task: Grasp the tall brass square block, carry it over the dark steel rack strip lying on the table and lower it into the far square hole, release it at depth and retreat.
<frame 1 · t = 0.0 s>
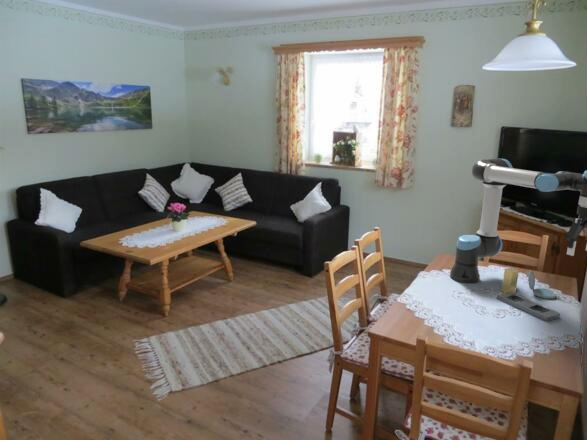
hand: (579, 253, 190), 28 cm above the table, fingers open, 13 cm apart
rack strip: (526, 307, 199), on the table
brass block: (508, 291, 217), on the table
pocket watch: (543, 295, 214), on the table
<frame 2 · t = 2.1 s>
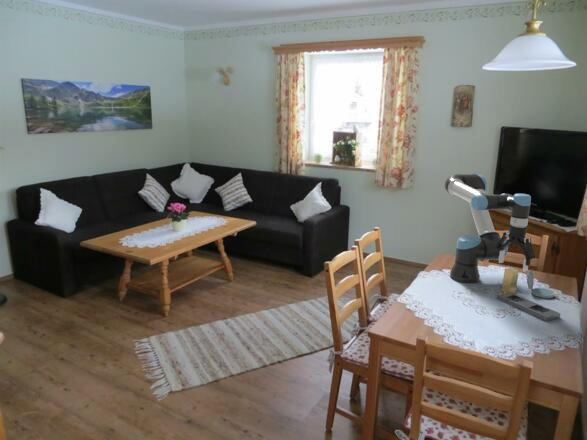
hand: (512, 266, 213), 14 cm above the table, fingers open, 13 cm apart
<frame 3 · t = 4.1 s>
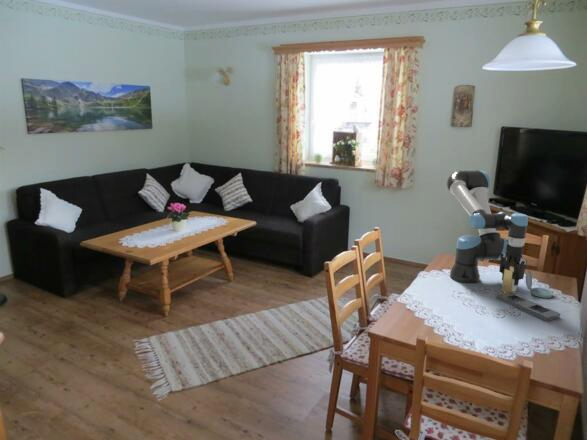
hand: (508, 288, 216), 2 cm above the table, fingers closed on brass block, 4 cm apart
brass block: (508, 291, 217), on the table, touching gripper
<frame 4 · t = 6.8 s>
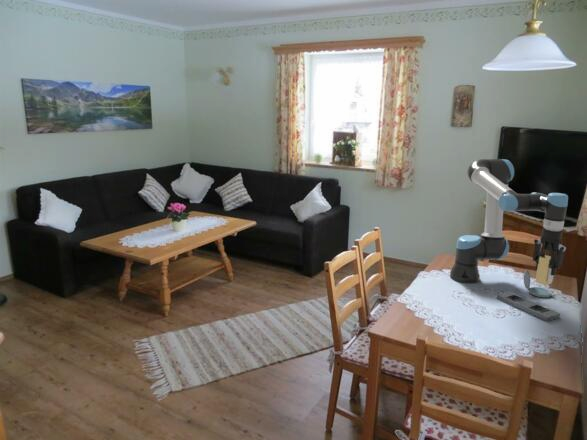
hand: (544, 279, 190), 16 cm above the table, fingers closed on brass block, 4 cm apart
brass block: (543, 282, 190), point 15 cm above the table, touching gripper
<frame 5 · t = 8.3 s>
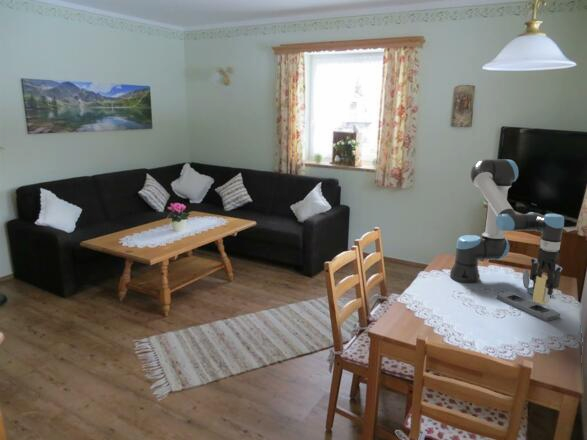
hand: (541, 298, 192), 7 cm above the table, fingers closed on brass block, 4 cm apart
brass block: (540, 301, 193), point 6 cm above the table, touching gripper
when the fingers open (5 cm above the table, at t = 9.5 s): brass block drops 3 cm, resting in rack strip.
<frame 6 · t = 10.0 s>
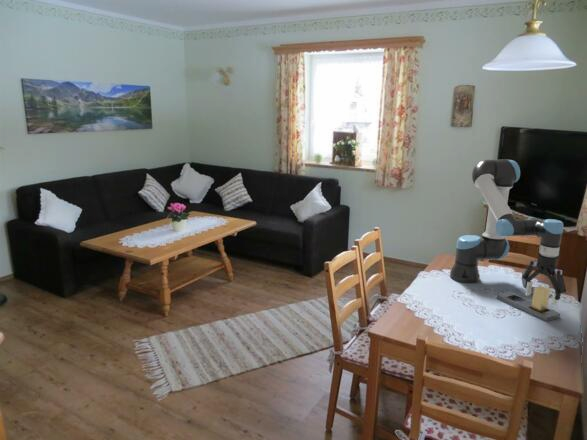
hand: (540, 300, 193), 6 cm above the table, fingers open, 12 cm apart
brass block: (538, 312, 194), resting in rack strip
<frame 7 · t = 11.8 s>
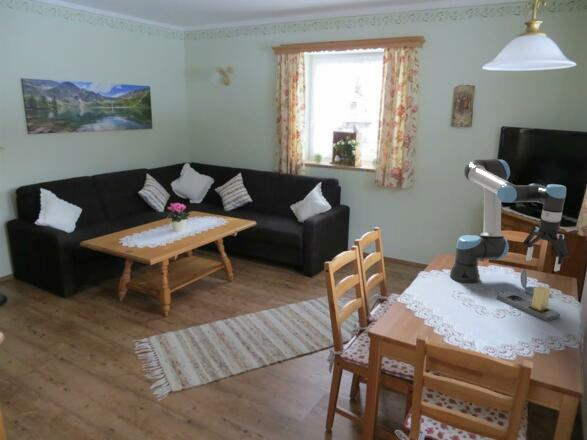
hand: (542, 265, 192), 22 cm above the table, fingers open, 13 cm apart
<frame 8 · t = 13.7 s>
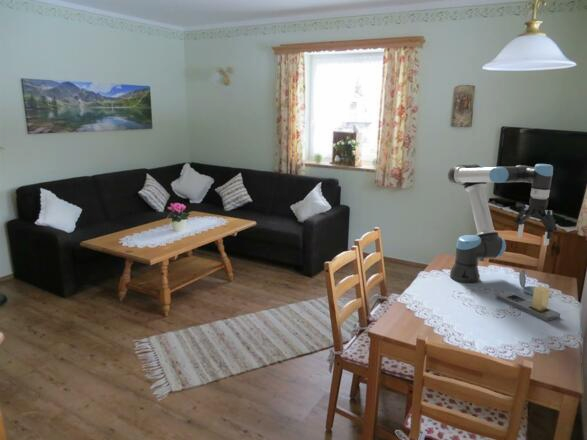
hand: (532, 241, 204), 29 cm above the table, fingers open, 13 cm apart
at the end: brass block 0.1 cm from the target spot on the rack strip, point 0.0 cm above the rack strip's base; brass block tilted 0°; the gripper is holding nothing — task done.
